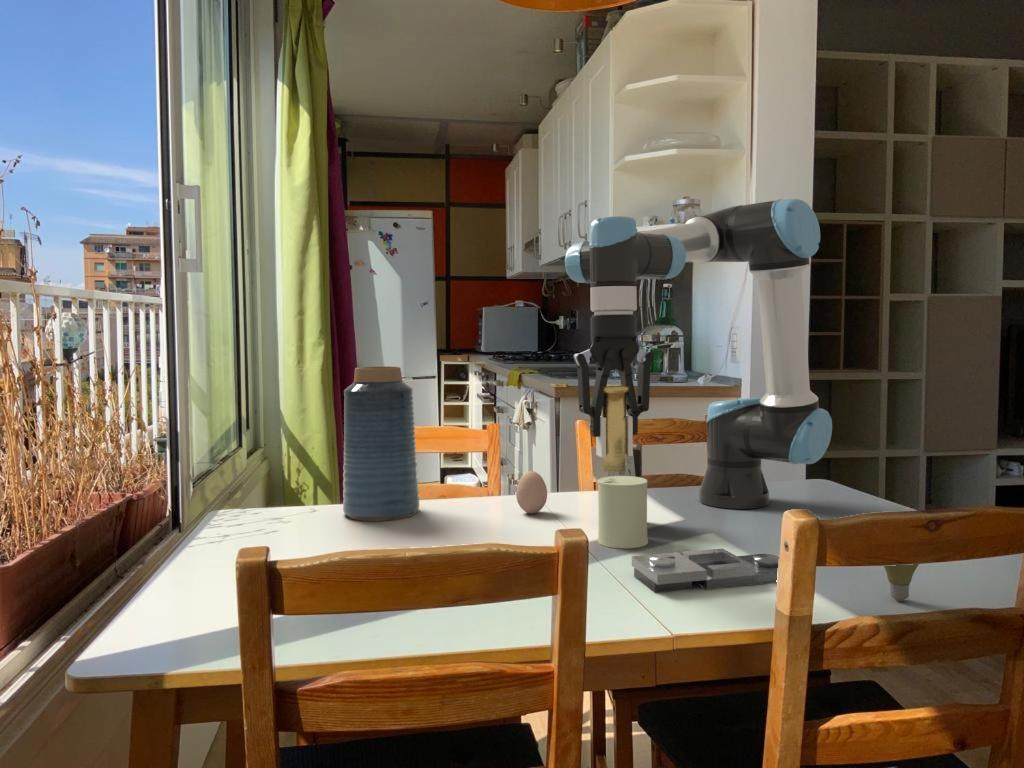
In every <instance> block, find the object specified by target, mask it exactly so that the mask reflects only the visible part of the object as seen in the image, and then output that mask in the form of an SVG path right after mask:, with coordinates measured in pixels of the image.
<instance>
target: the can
mask: <svg viewBox="0 0 1024 768" xmlns="http://www.w3.org/2000/svg"><path fill="white" fill-rule="evenodd" d="M648 483H649V482H648V479H647V478H643V477H642V478H640V477H634V476H609V477H608V476H603V477H601V478H598V479H597V492H598V493H597V495H598V498H597V499H598V501H597V502H598V504H597V505H598V506H597V508H598V510H597V511H598V538H597V543H598V544H599V545H600V546H604V547H606V548H607V547H608V548H613V549H622V550H624V549H627V550H628V549H638V548H641V547H645V546H647V545H648V543H649V539H648Z"/></svg>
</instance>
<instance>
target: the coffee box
mask: <svg viewBox="0 0 1024 768" xmlns="http://www.w3.org/2000/svg"><path fill="white" fill-rule="evenodd" d="M642 446H643V444H642V443H636V442H635V443H634V442H633V456H627V455H626V456H627V470H626V471H624V472H607V475H608V476H607V477H609V476H634V477H640V478H643V451H642V450H643V448H642Z"/></svg>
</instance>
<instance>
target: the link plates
mask: <svg viewBox="0 0 1024 768" xmlns="http://www.w3.org/2000/svg"><path fill="white" fill-rule="evenodd" d="M682 553H683V555H682ZM682 553H679V552H677V551H676V552H667V553H654V554H646V555H645V554H644V555H634V556H631V567H633V576H634V578H635V579H636V580H638V582H639V581H640V583H642V584H643V585H644V586H646V587H647V588H648V589H650V590H651V591H653V592H654V593H665V592H672V591H673V592H674V591H682V590H684V591H685V590H692V583H693V582H694V583H696V584H698V585H699V586H700V587H702V588H703V589H705V590H706V591H707V590H716V589H728V588H737V587H747V586H756V585H766V584H776V580H777V568H778V559H779V560H780V557H779V556H778V555H774V554H769V553H757V554H755V553H754V554H746V555H744V554H743V555H735V554H734V553H732V552H730V551H728V550H726V549H724V548H713V549H703V550H691V551H683V552H682Z"/></svg>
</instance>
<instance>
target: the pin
mask: <svg viewBox="0 0 1024 768" xmlns="http://www.w3.org/2000/svg"><path fill="white" fill-rule="evenodd" d="M627 392H630V386H624V385H621V384H607V386H606V387H603V393H605V397H604V402H603V408H602V413H601V416H602V417H605V418H606V457H603V458H602V459H601V460H602V461H601V463H602V464H601V470H602V471H603V472H606V473H608V472H624V471H626V470H627V456H626V415H627V410H626V393H627Z"/></svg>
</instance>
